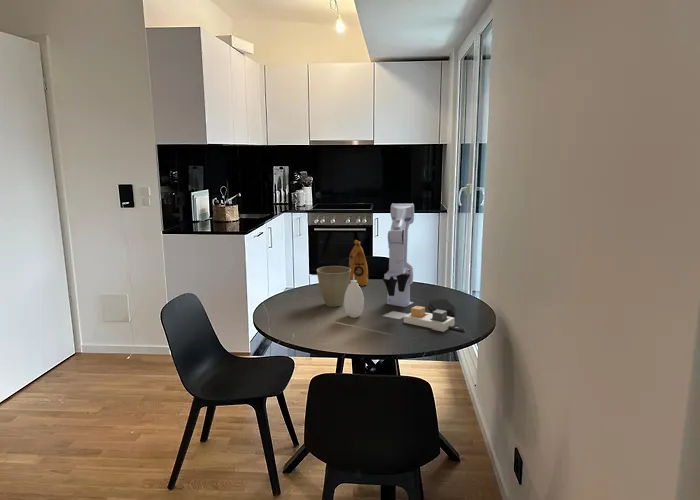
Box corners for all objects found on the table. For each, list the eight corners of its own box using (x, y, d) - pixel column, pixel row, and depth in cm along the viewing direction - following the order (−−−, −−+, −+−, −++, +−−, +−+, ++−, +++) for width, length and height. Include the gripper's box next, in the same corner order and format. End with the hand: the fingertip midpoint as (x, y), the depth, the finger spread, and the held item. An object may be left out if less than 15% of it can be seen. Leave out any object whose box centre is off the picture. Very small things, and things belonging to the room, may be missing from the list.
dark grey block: (432, 327, 195) (432, 311, 194) (437, 324, 198) (437, 309, 197) (441, 329, 192) (442, 313, 191) (446, 326, 195) (446, 311, 194)
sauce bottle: (354, 313, 213) (353, 271, 210) (367, 317, 208) (367, 273, 204) (340, 317, 208) (339, 274, 205) (354, 321, 202) (353, 277, 199)
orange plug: (410, 322, 200) (411, 308, 199) (416, 320, 203) (416, 305, 202) (420, 324, 198) (420, 309, 197) (425, 322, 201) (425, 307, 200)
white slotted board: (403, 323, 199) (403, 316, 199) (415, 317, 206) (415, 310, 206) (458, 334, 186) (459, 326, 185) (469, 328, 193) (469, 320, 192)
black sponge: (456, 317, 206) (457, 309, 206) (436, 318, 206) (436, 309, 205) (446, 306, 222) (446, 298, 222) (427, 307, 222) (427, 299, 221)
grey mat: (382, 316, 208) (382, 315, 208) (392, 312, 214) (392, 310, 214) (399, 320, 203) (399, 319, 203) (409, 315, 209) (409, 314, 209)
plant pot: (311, 307, 222) (310, 271, 219) (326, 299, 236) (325, 265, 233) (343, 311, 217) (343, 274, 214) (356, 301, 230) (356, 267, 227)
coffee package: (349, 286, 258) (348, 243, 254) (348, 281, 270) (347, 239, 266) (368, 286, 258) (368, 243, 254) (367, 280, 270) (367, 239, 266)
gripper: (395, 264, 193) (395, 299, 195) (414, 257, 204) (414, 291, 207) (379, 262, 197) (379, 296, 199) (399, 256, 208) (399, 288, 211)
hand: (396, 293), depth 203 cm, fingers open, 7 cm apart
